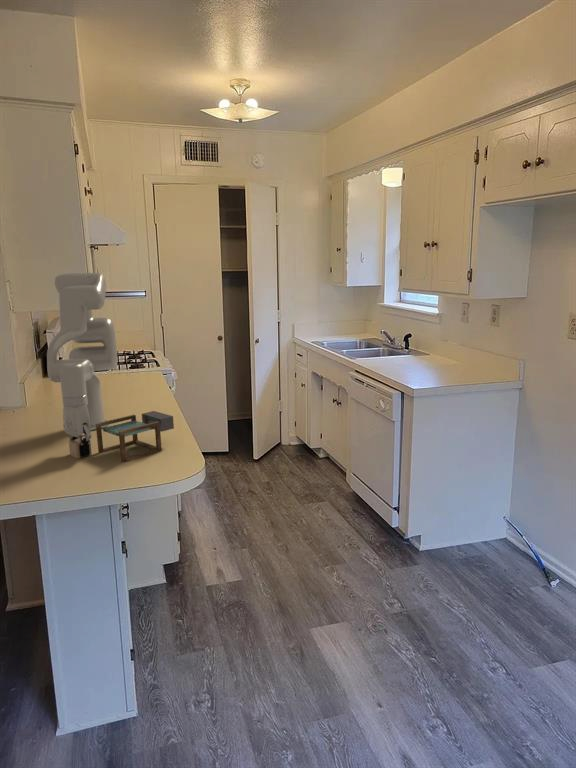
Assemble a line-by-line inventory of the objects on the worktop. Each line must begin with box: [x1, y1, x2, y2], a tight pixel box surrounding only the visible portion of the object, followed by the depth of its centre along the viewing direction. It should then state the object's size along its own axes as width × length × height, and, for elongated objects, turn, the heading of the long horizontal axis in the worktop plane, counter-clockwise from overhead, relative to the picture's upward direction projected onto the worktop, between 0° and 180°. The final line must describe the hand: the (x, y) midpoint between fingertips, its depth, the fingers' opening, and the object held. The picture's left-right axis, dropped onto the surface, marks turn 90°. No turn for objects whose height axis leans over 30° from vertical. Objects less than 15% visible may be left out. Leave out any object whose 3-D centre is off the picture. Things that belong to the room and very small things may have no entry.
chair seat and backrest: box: [102, 410, 175, 438], centre depth 188 cm, size 12×20×4 cm, turn 137°
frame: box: [96, 414, 163, 463], centre depth 185 cm, size 16×14×10 cm
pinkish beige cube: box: [68, 437, 93, 459], centre depth 184 cm, size 5×5×5 cm
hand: (80, 453), depth 184 cm, fingers closed on pinkish beige cube, 5 cm apart
